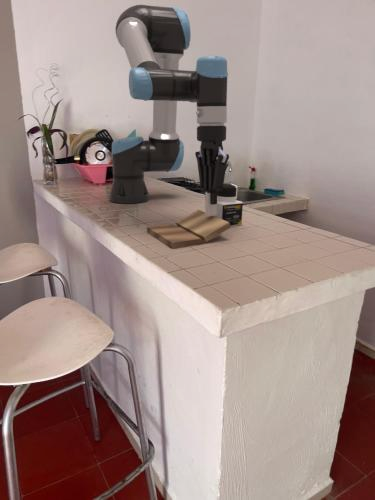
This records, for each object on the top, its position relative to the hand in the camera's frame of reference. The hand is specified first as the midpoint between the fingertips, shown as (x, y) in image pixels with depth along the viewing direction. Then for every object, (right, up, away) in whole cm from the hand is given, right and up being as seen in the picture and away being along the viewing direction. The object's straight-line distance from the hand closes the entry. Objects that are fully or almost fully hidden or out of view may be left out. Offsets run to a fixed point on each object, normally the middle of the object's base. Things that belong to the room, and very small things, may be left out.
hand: (211, 215), depth 102 cm
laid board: (-10, -6, -3) cm, 12 cm away
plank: (-2, -3, 0) cm, 4 cm away
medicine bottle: (+5, -2, +11) cm, 12 cm away
